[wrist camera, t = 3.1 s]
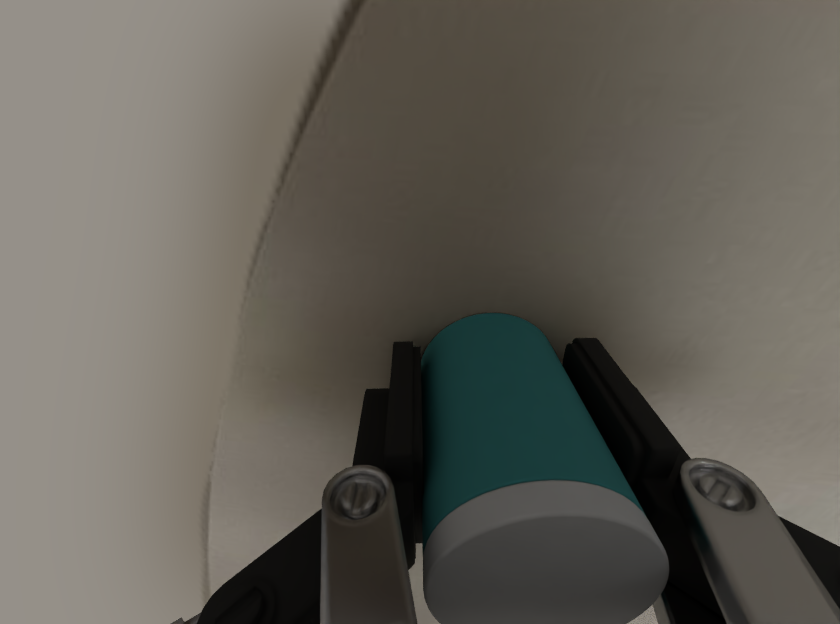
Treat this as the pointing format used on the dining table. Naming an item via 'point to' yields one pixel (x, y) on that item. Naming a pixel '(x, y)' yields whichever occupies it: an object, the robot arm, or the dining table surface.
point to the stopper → (524, 489)
